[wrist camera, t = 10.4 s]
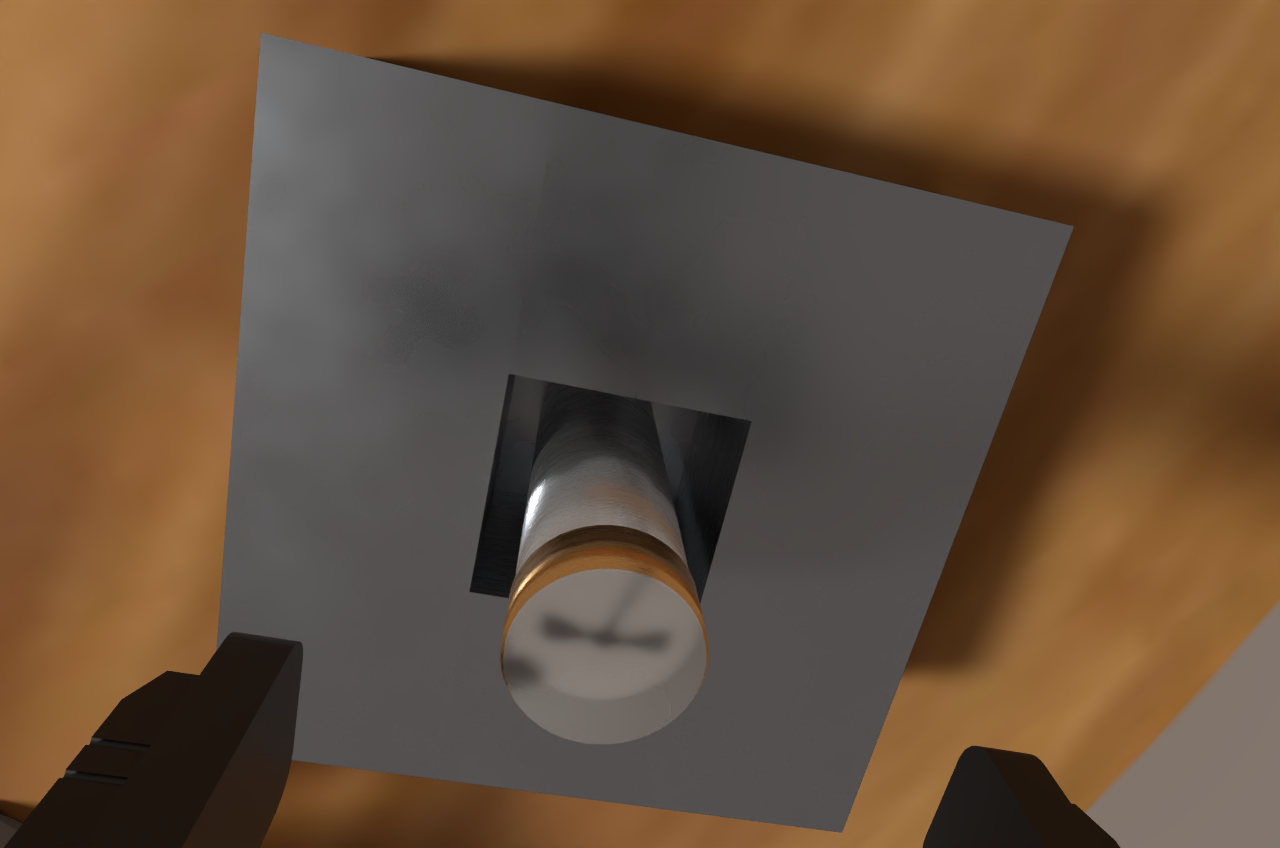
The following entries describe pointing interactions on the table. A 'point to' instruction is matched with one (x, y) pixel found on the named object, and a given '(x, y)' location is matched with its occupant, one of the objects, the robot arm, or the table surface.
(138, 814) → the robot arm
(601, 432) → the cylinder
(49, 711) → the table surface
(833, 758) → the bore block
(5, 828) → the coffeepot
